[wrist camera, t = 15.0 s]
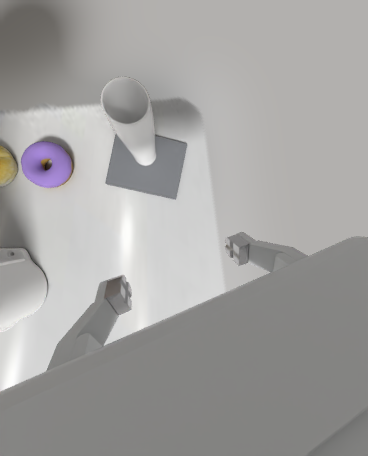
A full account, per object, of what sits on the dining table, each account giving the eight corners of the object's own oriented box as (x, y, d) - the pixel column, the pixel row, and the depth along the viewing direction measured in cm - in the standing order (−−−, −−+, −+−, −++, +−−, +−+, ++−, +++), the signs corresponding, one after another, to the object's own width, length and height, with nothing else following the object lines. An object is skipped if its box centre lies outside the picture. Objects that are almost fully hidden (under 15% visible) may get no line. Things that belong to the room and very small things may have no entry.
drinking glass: (125, 150, 34) (89, 89, 19) (150, 136, 34) (133, 66, 19) (141, 174, 34) (117, 135, 19) (165, 161, 34) (160, 111, 19)
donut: (70, 194, 33) (47, 188, 28) (37, 185, 34) (10, 177, 29) (82, 154, 33) (62, 140, 28) (48, 146, 34) (24, 131, 29)
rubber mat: (106, 184, 34) (105, 183, 33) (118, 127, 34) (117, 125, 33) (175, 199, 35) (175, 199, 35) (187, 145, 35) (187, 143, 35)
